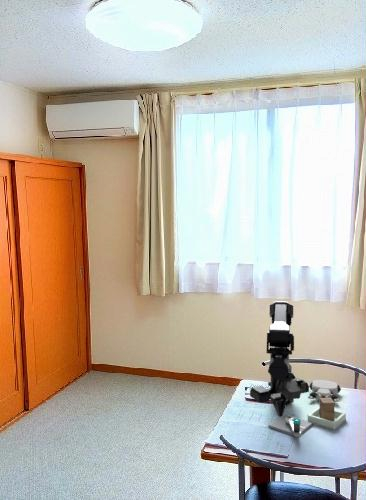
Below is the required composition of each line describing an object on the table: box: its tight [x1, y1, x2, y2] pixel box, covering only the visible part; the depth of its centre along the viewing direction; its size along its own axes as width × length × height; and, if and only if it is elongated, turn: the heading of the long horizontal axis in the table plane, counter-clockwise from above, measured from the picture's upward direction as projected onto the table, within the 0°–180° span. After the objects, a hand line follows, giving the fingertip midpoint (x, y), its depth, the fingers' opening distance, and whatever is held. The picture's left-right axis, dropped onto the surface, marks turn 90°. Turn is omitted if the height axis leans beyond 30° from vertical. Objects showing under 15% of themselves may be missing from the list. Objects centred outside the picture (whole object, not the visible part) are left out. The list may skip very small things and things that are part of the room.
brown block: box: [319, 398, 336, 421], centre depth 161 cm, size 4×4×7 cm
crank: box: [285, 415, 302, 438], centre depth 154 cm, size 12×4×5 cm, turn 179°
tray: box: [307, 405, 347, 431], centre depth 161 cm, size 10×10×2 cm
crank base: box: [267, 413, 314, 437], centre depth 158 cm, size 11×11×1 cm
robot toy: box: [307, 379, 342, 403], centre depth 181 cm, size 12×4×15 cm
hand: (279, 416), depth 146 cm, fingers closed
